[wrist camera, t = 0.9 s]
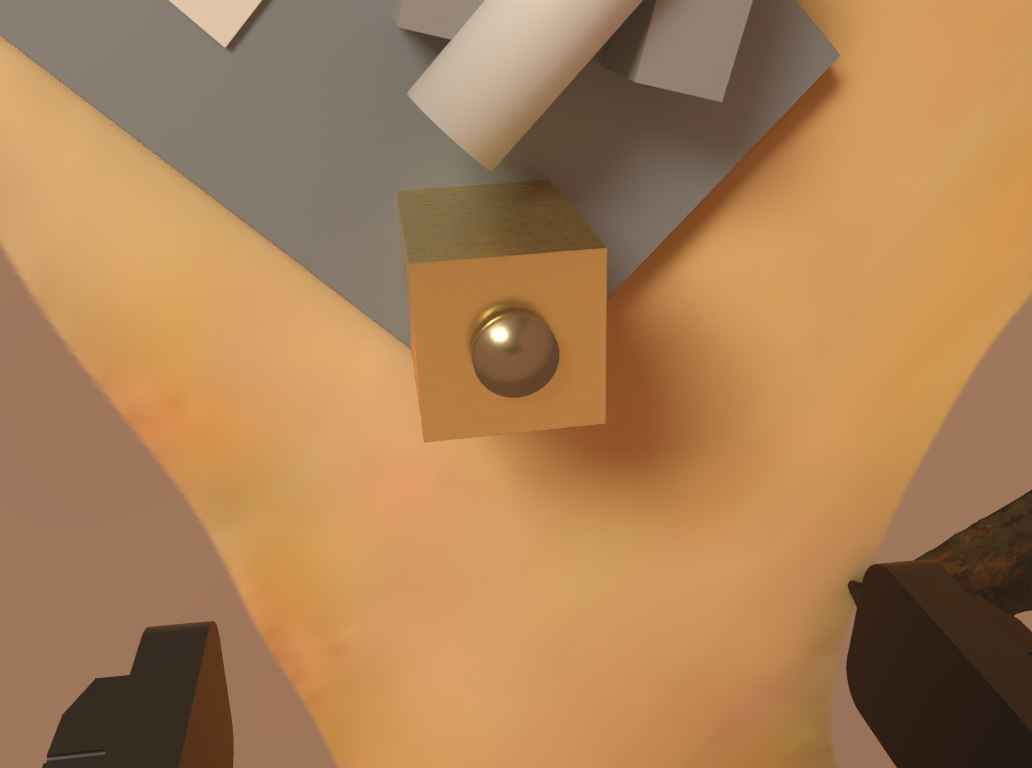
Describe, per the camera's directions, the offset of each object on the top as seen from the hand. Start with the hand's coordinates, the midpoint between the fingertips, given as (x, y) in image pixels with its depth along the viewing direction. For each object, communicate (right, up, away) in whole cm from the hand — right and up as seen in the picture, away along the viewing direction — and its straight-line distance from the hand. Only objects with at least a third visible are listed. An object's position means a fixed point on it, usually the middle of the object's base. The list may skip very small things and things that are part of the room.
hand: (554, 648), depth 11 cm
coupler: (-2, +7, +17) cm, 18 cm away
